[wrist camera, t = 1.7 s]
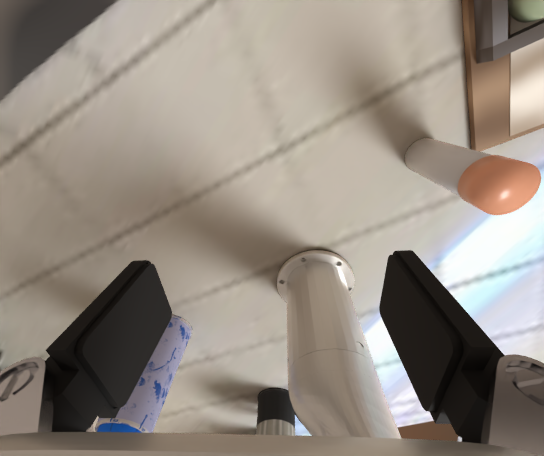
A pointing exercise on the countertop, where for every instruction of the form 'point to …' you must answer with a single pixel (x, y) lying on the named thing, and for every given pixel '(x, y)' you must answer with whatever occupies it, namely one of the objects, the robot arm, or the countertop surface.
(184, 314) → the countertop surface
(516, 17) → the button
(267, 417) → the milk frother
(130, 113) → the countertop surface
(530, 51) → the board
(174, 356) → the white blue cylinder
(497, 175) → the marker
